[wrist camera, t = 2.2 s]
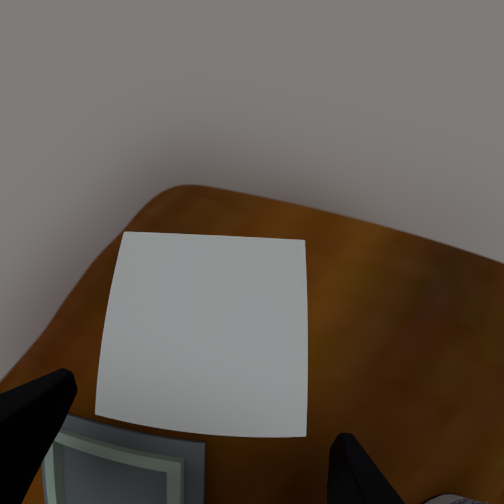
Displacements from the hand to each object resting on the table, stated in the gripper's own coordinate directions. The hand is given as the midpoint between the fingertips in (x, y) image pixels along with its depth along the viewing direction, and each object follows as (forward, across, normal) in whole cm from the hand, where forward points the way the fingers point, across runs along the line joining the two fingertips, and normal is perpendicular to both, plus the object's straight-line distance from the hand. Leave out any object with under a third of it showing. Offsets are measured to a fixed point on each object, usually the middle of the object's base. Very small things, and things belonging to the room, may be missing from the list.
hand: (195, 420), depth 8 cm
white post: (+9, 0, +5) cm, 10 cm away
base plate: (0, +5, +14) cm, 15 cm away
